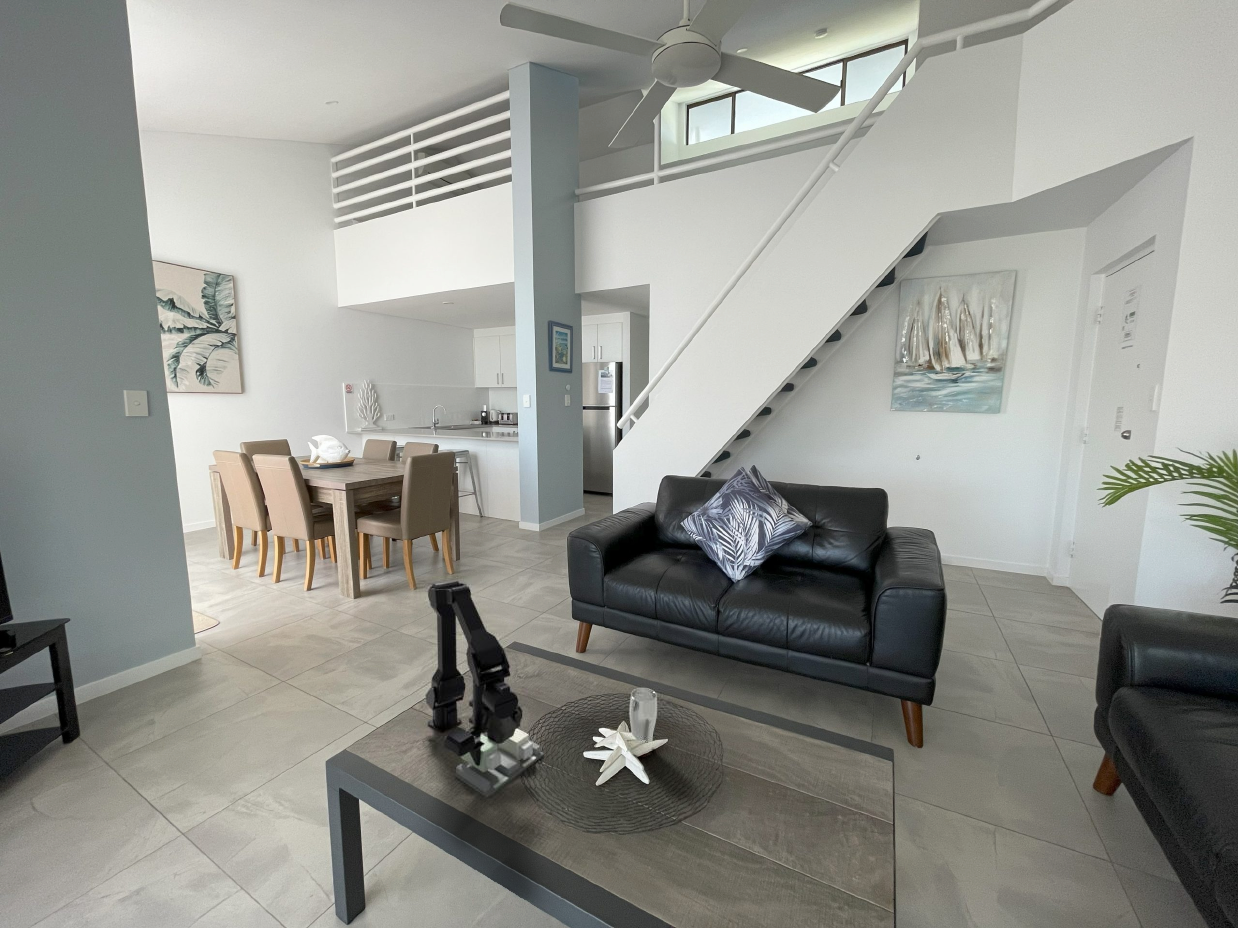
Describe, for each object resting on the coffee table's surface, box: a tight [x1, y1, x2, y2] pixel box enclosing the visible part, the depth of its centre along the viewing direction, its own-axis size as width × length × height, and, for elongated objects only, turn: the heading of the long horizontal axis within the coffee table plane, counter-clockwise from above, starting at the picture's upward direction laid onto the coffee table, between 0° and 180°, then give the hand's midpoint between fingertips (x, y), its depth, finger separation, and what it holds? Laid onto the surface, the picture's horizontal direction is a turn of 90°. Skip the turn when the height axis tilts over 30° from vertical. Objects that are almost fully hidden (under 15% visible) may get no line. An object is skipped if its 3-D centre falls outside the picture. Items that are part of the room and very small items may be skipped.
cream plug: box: [497, 728, 533, 760], centre depth 129 cm, size 10×4×5 cm, turn 55°
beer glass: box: [629, 687, 658, 742], centre depth 133 cm, size 7×7×15 cm
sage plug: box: [460, 734, 501, 772], centre depth 123 cm, size 10×4×5 cm, turn 55°
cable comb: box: [454, 739, 545, 799], centre depth 126 cm, size 11×18×2 cm, turn 145°
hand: (485, 760), depth 122 cm, fingers closed on sage plug, 4 cm apart
